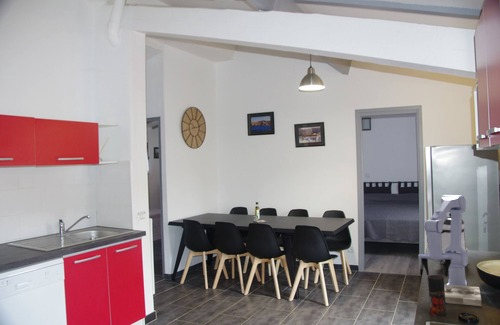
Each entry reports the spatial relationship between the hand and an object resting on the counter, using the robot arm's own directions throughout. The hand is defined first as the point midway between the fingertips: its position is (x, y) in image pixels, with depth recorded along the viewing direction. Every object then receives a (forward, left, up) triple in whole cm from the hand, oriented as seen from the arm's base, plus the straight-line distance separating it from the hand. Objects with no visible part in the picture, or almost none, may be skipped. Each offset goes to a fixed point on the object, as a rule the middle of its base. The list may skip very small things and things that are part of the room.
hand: (437, 275), depth 182 cm
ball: (-1, +4, -5) cm, 7 cm away
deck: (-1, +8, -9) cm, 13 cm away
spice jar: (+22, +1, -10) cm, 24 cm away
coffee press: (-58, +6, -10) cm, 59 cm away
